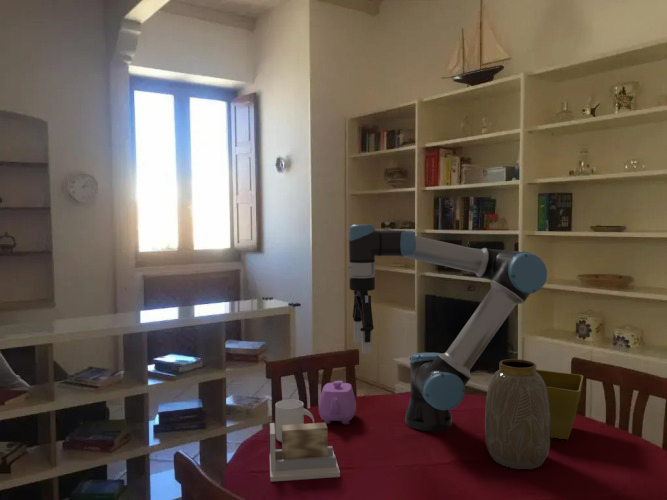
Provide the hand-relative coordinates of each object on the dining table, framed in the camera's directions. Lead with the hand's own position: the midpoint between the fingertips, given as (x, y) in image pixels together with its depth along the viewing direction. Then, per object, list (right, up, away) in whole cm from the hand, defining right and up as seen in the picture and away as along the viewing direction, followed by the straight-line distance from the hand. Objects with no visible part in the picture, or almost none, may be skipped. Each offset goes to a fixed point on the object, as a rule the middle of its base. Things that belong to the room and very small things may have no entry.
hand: (362, 347), depth 164 cm
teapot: (-7, -28, +21) cm, 36 cm away
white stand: (-17, -30, -15) cm, 37 cm away
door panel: (-16, -29, -15) cm, 36 cm away
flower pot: (+59, -28, +9) cm, 66 cm away
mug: (-20, -29, +5) cm, 36 cm away
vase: (+42, -29, -11) cm, 53 cm away
